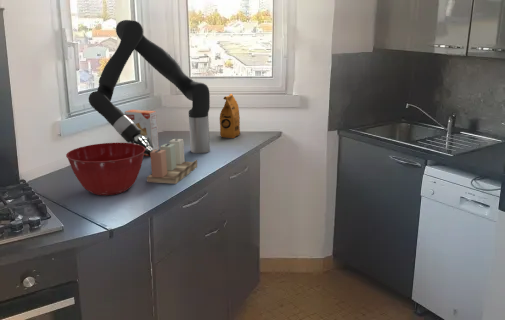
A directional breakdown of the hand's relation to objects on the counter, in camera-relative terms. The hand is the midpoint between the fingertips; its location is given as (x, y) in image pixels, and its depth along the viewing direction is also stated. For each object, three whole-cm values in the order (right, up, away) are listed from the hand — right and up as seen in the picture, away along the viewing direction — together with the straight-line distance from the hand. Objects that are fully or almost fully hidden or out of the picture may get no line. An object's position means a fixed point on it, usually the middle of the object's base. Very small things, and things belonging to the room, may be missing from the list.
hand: (156, 158), depth 213 cm
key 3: (+3, -7, -9) cm, 11 cm away
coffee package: (+28, +12, +64) cm, 71 cm away
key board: (+7, -6, 0) cm, 10 cm away
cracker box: (-12, +2, +32) cm, 34 cm away
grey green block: (+6, -4, 0) cm, 7 cm away
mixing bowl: (-14, -12, -17) cm, 25 cm away
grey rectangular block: (+8, -2, +8) cm, 11 cm away
